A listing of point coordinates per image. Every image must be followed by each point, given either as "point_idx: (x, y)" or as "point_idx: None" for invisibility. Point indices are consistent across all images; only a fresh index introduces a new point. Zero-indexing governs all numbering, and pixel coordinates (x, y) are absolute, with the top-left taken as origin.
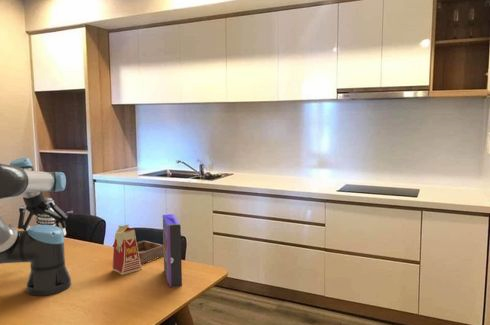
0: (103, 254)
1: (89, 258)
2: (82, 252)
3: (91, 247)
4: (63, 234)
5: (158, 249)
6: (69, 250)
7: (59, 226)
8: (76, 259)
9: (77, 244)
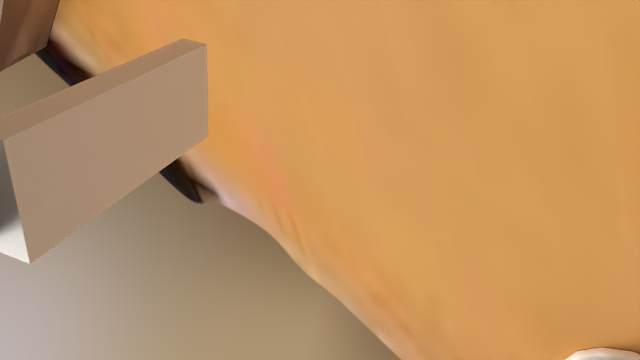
0: (213, 73)
1: (269, 23)
2: (356, 178)
3: (328, 240)
4: (173, 48)
5: None
6: (457, 264)
7: (69, 109)
8: (357, 38)
9: (427, 338)
